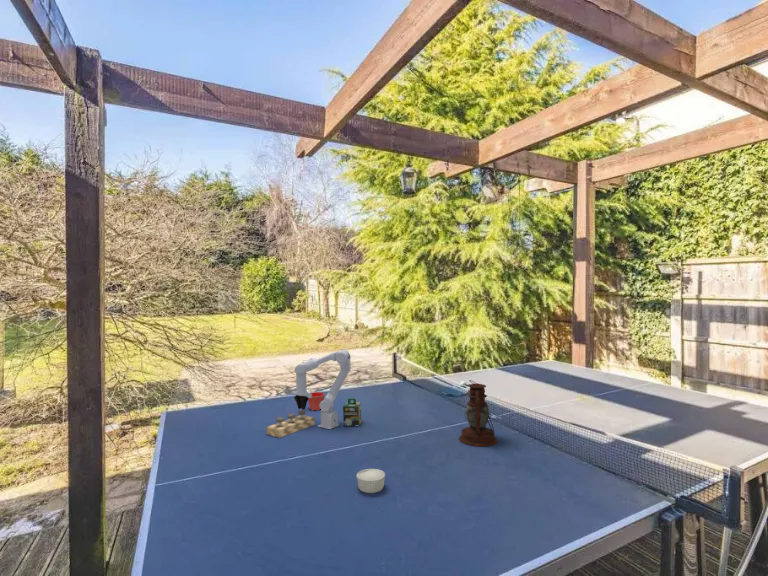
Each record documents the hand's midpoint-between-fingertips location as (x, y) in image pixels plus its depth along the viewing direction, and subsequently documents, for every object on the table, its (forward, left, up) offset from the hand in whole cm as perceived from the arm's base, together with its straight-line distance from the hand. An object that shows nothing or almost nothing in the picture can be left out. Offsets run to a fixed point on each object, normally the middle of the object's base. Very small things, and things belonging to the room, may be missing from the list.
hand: (301, 408), depth 243 cm
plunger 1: (0, +16, -7) cm, 17 cm away
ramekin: (-79, +40, -10) cm, 89 cm away
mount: (0, +8, -9) cm, 12 cm away
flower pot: (+17, -29, -10) cm, 35 cm away
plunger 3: (0, 0, -7) cm, 7 cm away
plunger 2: (0, +8, -7) cm, 11 cm away
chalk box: (-22, -18, -10) cm, 30 cm away
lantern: (-93, -31, -10) cm, 99 cm away
